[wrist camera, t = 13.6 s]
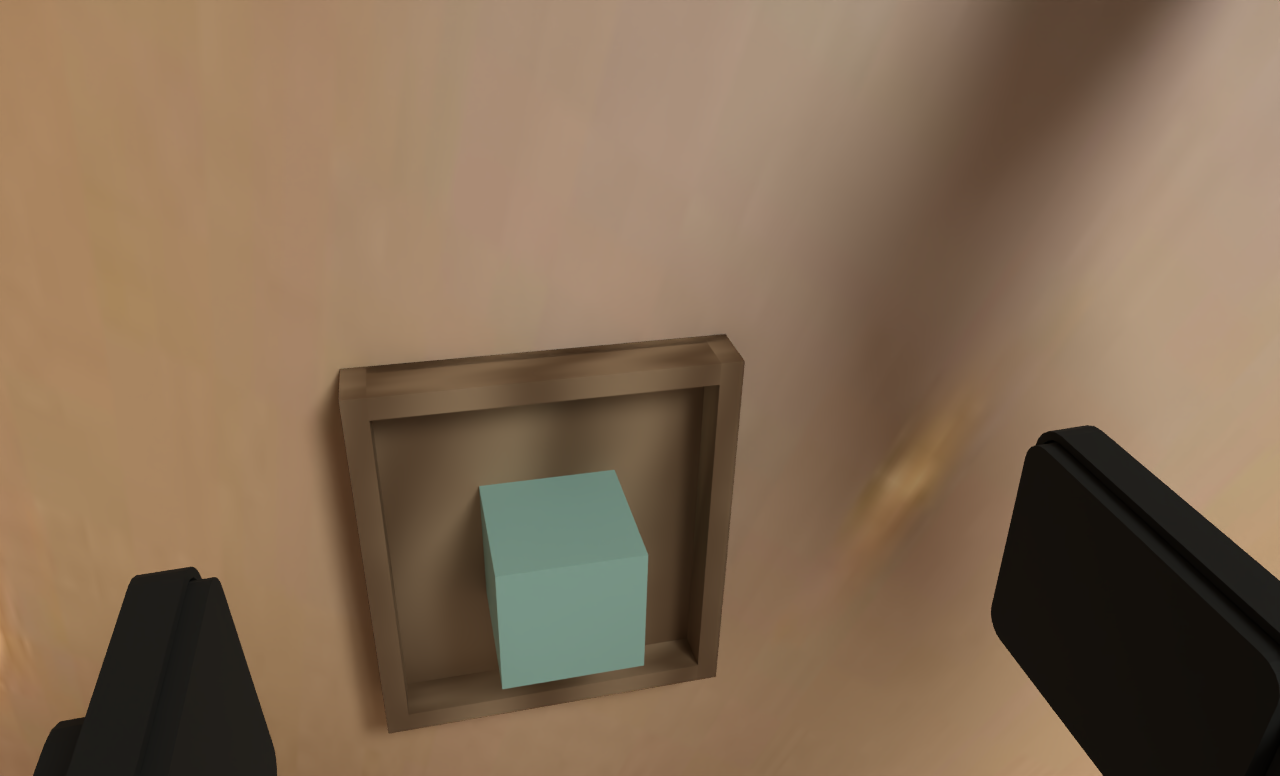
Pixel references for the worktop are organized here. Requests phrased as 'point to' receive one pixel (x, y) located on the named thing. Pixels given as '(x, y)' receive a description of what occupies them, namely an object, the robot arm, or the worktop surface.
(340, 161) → the worktop surface
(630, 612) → the teal cube
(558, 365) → the walnut tray
